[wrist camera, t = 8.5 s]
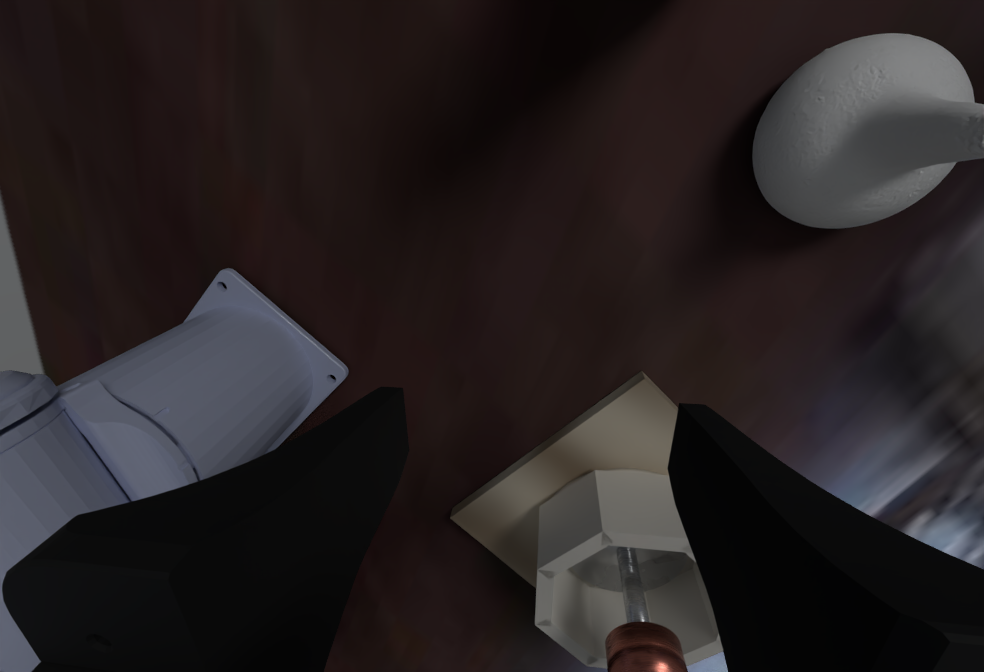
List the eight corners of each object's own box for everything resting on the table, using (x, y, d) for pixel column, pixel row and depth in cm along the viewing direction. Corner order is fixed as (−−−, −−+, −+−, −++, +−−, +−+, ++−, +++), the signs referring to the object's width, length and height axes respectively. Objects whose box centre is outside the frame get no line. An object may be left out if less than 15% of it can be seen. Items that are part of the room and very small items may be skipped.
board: (605, 634, 30) (606, 646, 29) (452, 507, 27) (449, 518, 27) (804, 538, 25) (811, 550, 24) (641, 370, 22) (644, 378, 22)
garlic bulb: (951, 103, 17) (1287, 38, 9) (835, 252, 19) (1036, 296, 11) (811, 18, 17) (1048, -124, 9) (707, 179, 19) (829, 175, 11)
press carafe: (611, 612, 28) (621, 693, 24) (504, 522, 26) (496, 593, 22) (747, 544, 25) (786, 624, 21) (636, 435, 23) (655, 500, 19)
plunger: (616, 598, 27) (637, 759, 20) (541, 534, 25) (537, 682, 19) (710, 549, 24) (772, 713, 17) (633, 477, 23) (668, 622, 16)
